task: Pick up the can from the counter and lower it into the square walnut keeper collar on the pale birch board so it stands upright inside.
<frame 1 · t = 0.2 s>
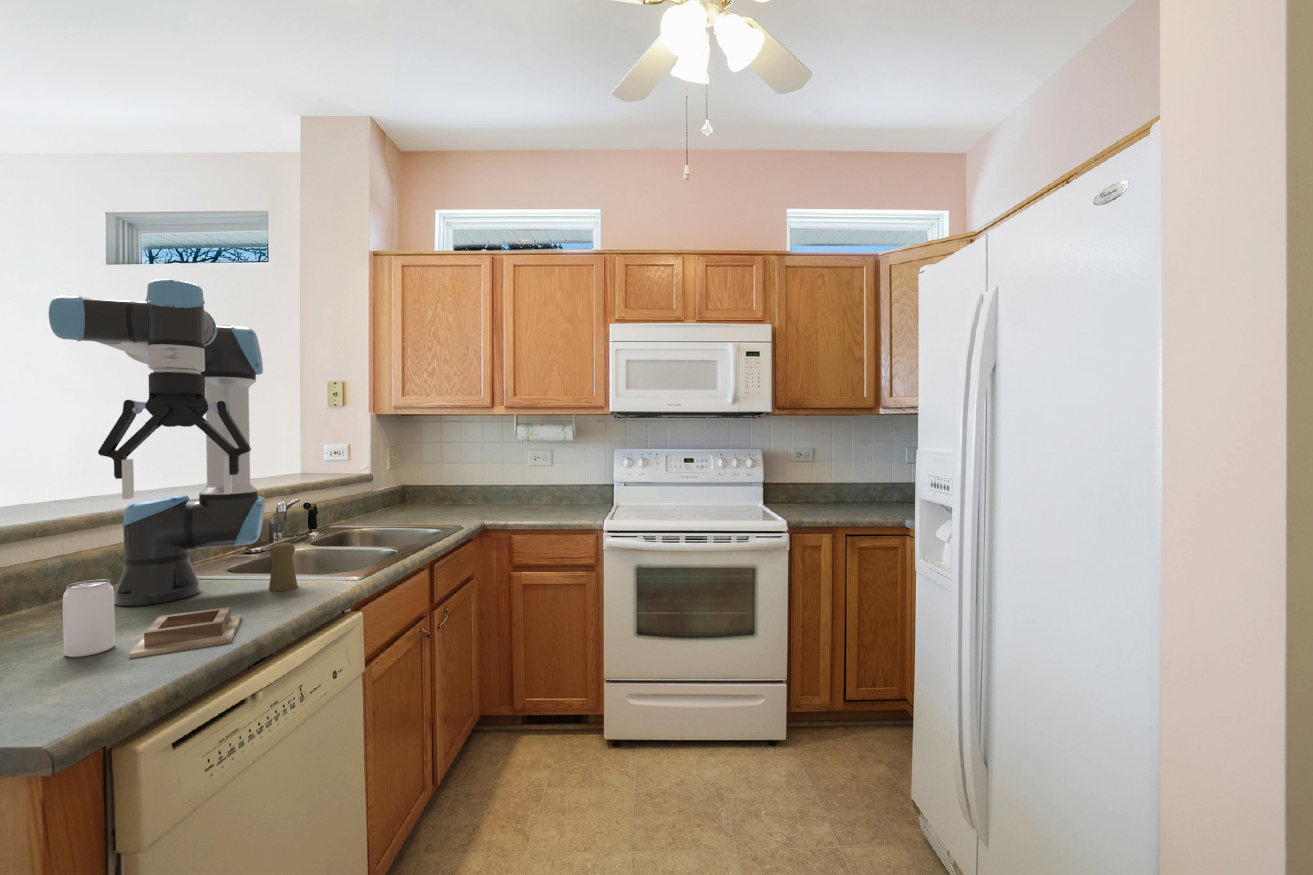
hand: (179, 496, 100), 27 cm above the counter, tool pointing down, fingers open, 13 cm apart
keeper board: (190, 636, 110), on the counter
cork: (283, 588, 144), on the counter
can: (90, 652, 103), on the counter
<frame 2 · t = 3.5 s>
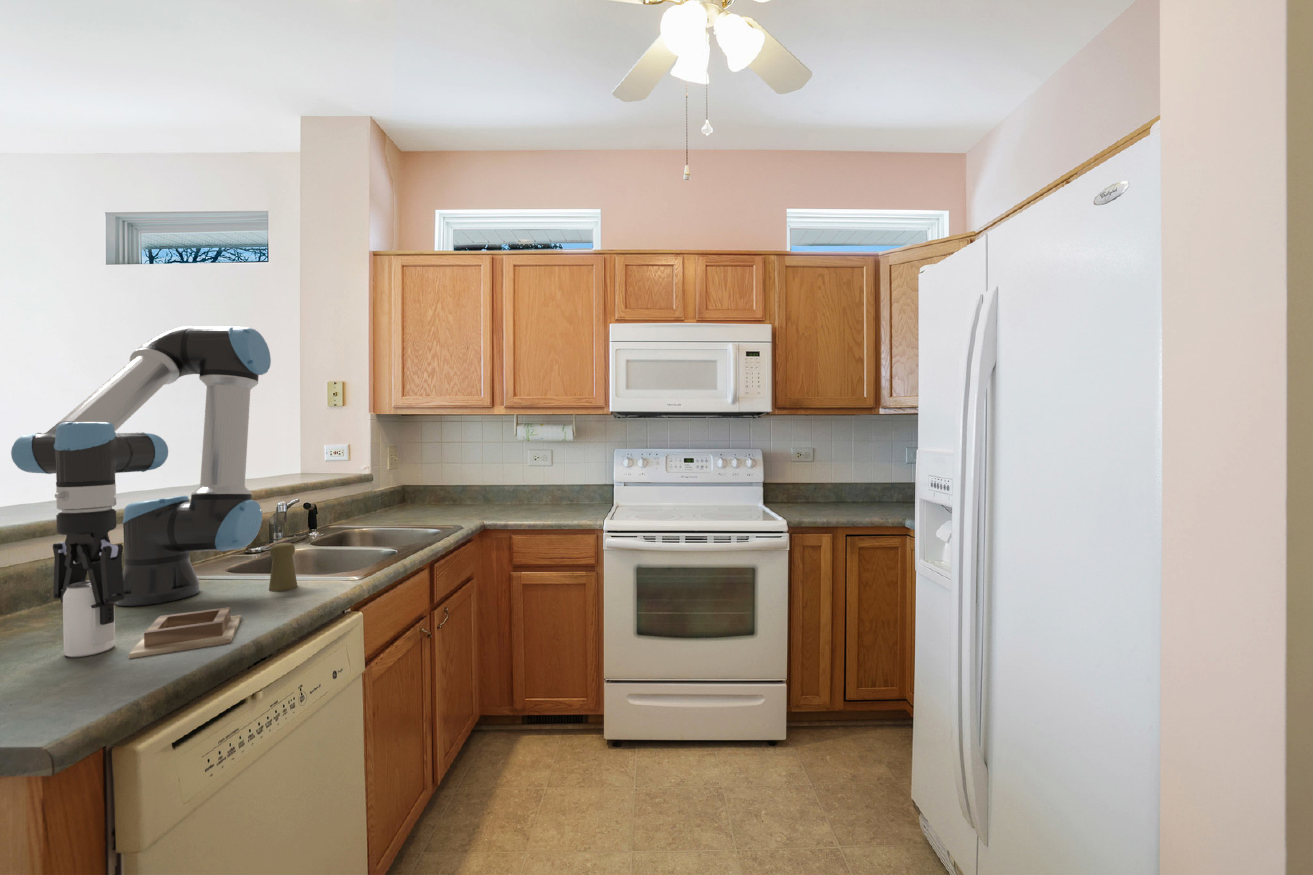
hand: (89, 640, 103), 2 cm above the counter, tool pointing down, fingers closed on can, 6 cm apart
can: (90, 652, 103), on the counter, touching gripper
everything else where it was.
when the fingers open (5 cm above the counter, at t = 8.1 s): can drops 2 cm, resting on keeper board.
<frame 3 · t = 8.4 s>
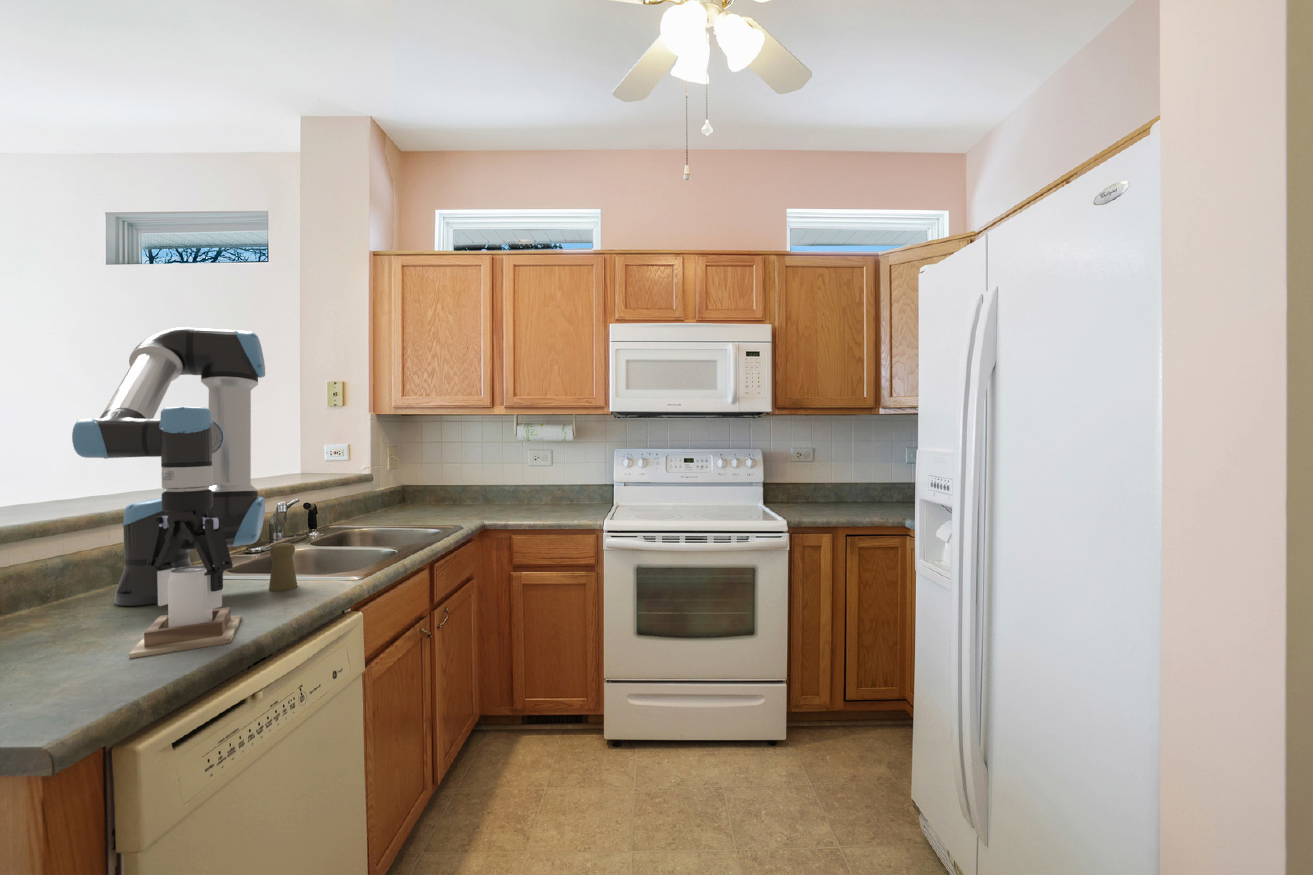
hand: (189, 606, 110), 6 cm above the counter, tool pointing down, fingers open, 11 cm apart
can: (191, 633, 109), point 1 cm above the counter, touching keeper board
everything else where it was.
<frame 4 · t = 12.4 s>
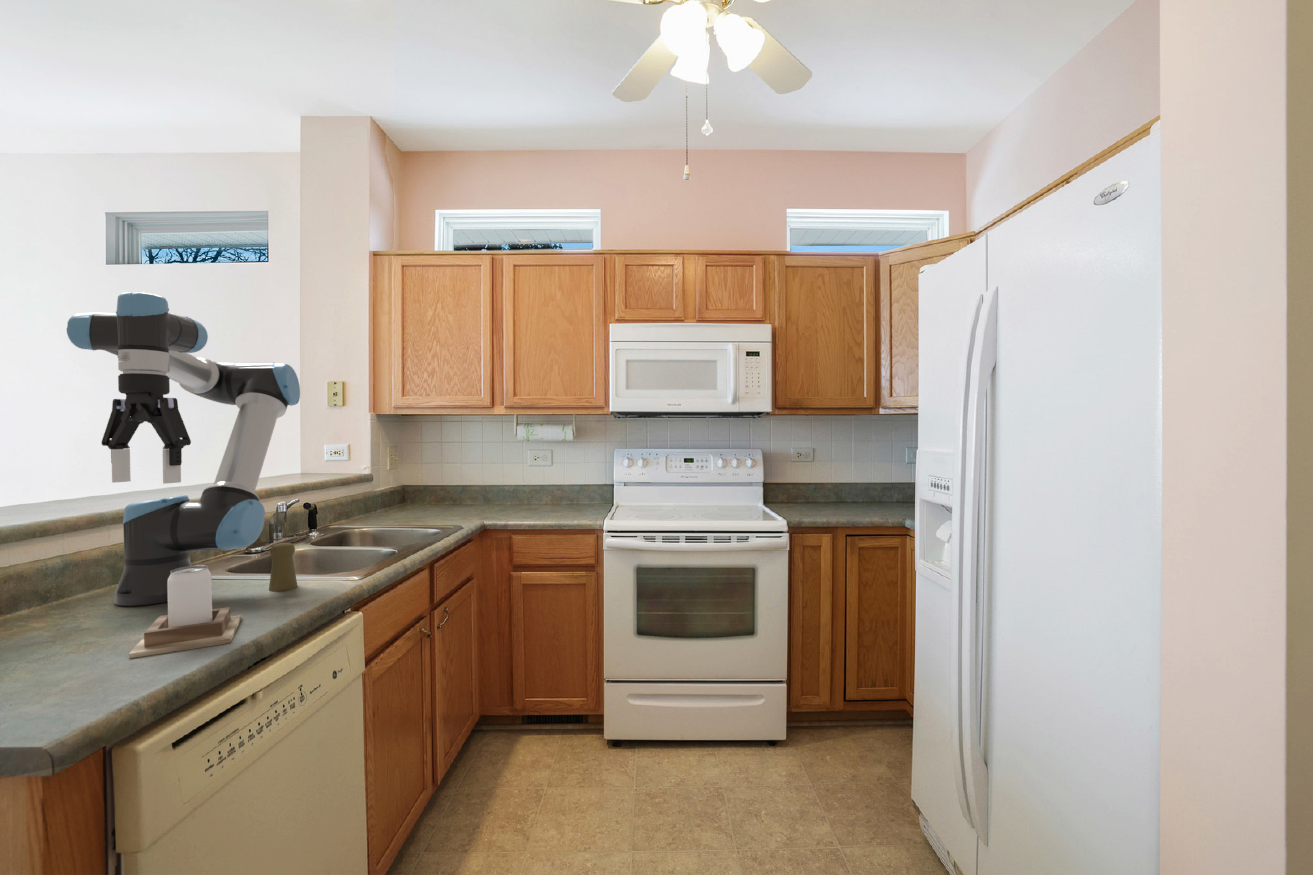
hand: (146, 482, 114), 29 cm above the counter, tool pointing down, fingers open, 13 cm apart
nothing on the counter moved.
at the end: can 0.2 cm off-centre on the keeper board, point 0.6 cm above the keeper board's base; can tilted 0°; the gripper is holding nothing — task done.
